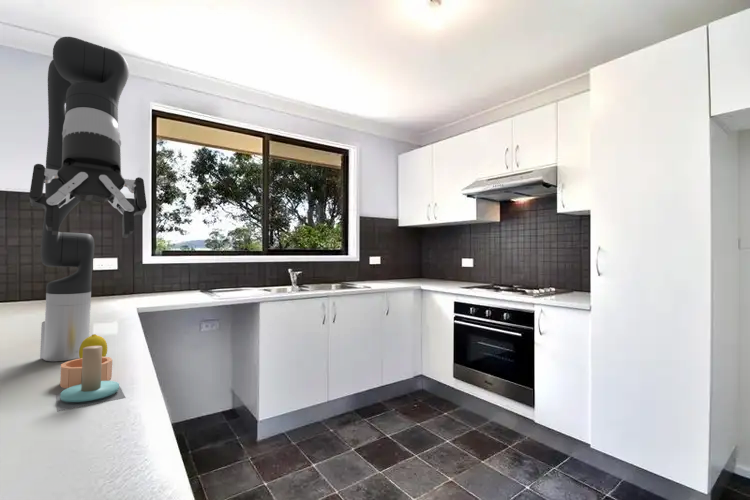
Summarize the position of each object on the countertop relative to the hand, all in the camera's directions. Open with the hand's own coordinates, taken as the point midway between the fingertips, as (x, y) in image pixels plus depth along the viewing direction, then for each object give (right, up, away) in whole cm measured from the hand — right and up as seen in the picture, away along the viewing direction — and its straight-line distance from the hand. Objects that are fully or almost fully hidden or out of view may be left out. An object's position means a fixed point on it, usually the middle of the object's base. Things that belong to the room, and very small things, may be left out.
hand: (92, 234), depth 55 cm
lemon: (-27, -31, +34) cm, 53 cm away
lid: (-12, -31, +15) cm, 37 cm away
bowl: (-19, -31, +23) cm, 43 cm away
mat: (-12, -31, +15) cm, 37 cm away
